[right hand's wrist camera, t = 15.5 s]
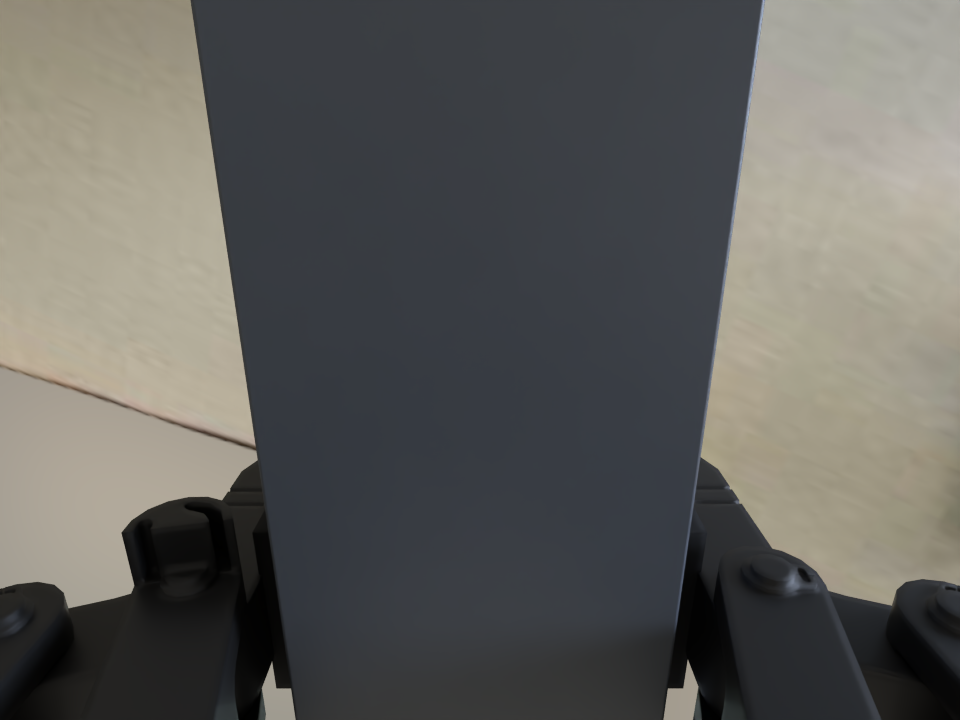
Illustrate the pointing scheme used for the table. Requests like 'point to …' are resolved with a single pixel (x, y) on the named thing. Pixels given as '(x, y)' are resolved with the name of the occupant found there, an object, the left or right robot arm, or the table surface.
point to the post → (478, 333)
